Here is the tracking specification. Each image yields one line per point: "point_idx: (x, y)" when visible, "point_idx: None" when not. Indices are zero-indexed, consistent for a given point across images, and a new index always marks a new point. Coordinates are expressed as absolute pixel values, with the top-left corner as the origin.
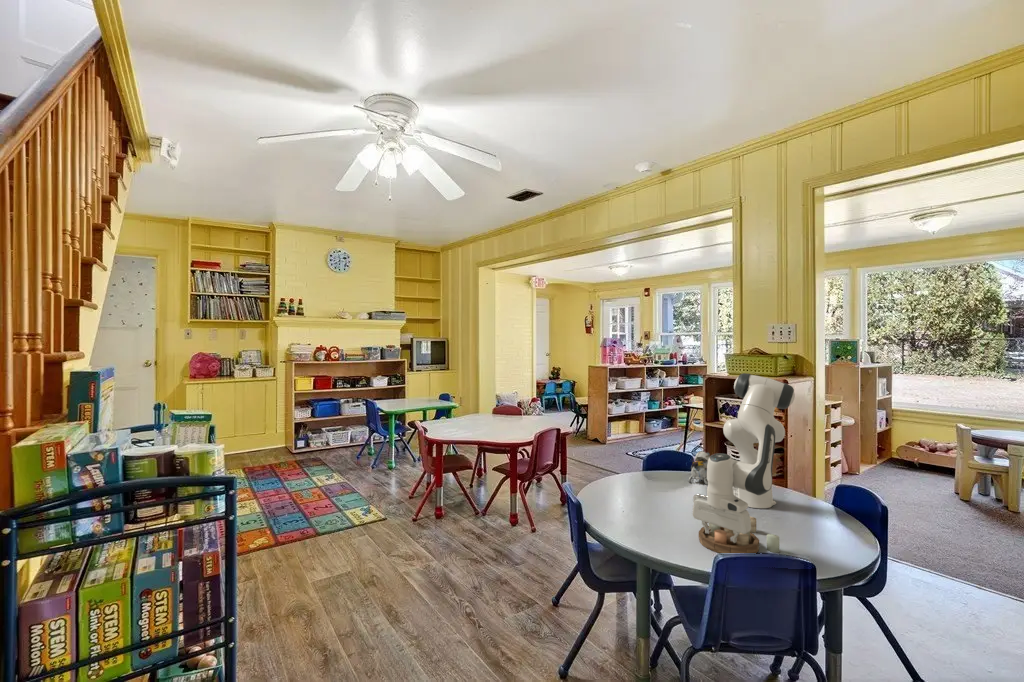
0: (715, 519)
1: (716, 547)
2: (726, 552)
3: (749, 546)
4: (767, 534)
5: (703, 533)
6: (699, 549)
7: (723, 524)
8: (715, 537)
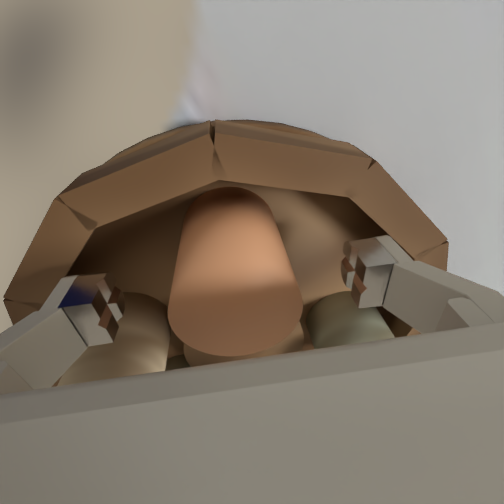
0: (310, 482)
1: (193, 133)
2: (112, 159)
3: None
4: None
5: None
6: (334, 34)
7: (98, 438)
8: (257, 228)
